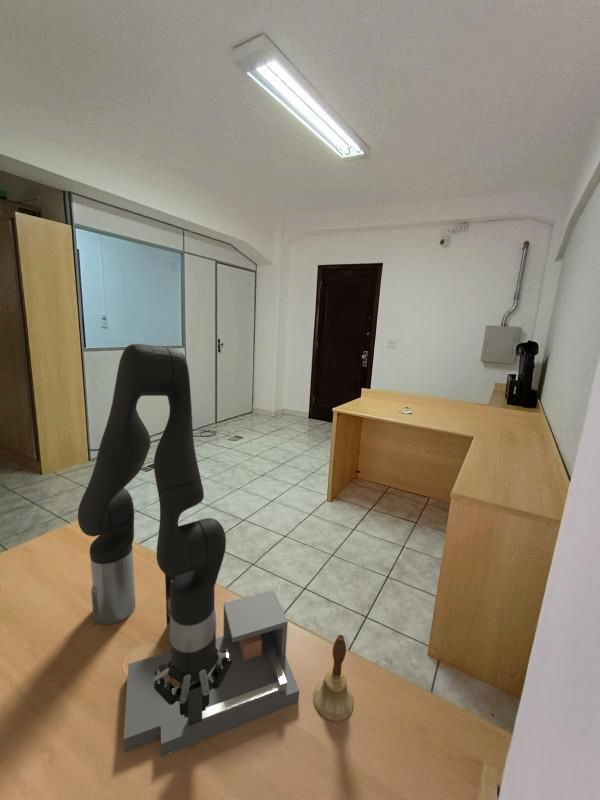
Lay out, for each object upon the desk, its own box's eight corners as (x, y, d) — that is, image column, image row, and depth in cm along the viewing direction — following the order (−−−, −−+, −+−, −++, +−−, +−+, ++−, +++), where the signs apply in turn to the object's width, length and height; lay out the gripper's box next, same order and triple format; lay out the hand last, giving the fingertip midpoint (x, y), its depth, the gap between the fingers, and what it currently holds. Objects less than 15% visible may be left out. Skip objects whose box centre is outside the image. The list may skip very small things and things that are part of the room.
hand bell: (357, 689, 75) (365, 627, 71) (347, 730, 67) (355, 663, 63) (320, 673, 77) (326, 613, 74) (307, 710, 70) (312, 645, 66)
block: (243, 660, 76) (244, 645, 75) (239, 644, 80) (239, 630, 79) (261, 654, 78) (262, 640, 77) (256, 639, 81) (257, 625, 80)
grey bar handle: (188, 731, 63) (187, 691, 61) (184, 687, 70) (183, 650, 68) (287, 693, 70) (289, 656, 68) (274, 657, 77) (275, 622, 75)
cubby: (123, 772, 59) (119, 716, 56) (129, 675, 75) (126, 627, 72) (298, 702, 71) (302, 653, 69) (271, 631, 87) (273, 590, 84)
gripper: (229, 603, 66) (228, 676, 70) (149, 624, 60) (152, 702, 64) (238, 636, 59) (236, 715, 63) (148, 663, 54) (153, 748, 57)
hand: (194, 708), depth 63 cm, fingers closed on grey bar handle, 2 cm apart
